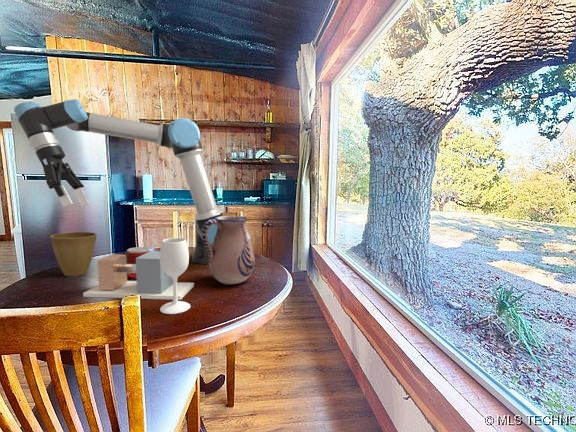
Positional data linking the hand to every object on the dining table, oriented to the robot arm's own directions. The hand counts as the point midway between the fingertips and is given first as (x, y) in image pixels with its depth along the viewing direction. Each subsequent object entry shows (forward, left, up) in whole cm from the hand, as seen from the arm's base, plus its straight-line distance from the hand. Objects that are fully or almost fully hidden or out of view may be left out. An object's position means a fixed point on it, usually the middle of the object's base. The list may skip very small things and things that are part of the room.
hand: (77, 205), depth 106 cm
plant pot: (+3, -15, -29) cm, 33 cm away
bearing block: (-20, +17, -29) cm, 39 cm away
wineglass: (-27, +36, -29) cm, 54 cm away
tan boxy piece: (-17, +16, -27) cm, 36 cm away
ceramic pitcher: (-49, +20, -29) cm, 60 cm away
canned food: (-19, -2, -29) cm, 35 cm away
